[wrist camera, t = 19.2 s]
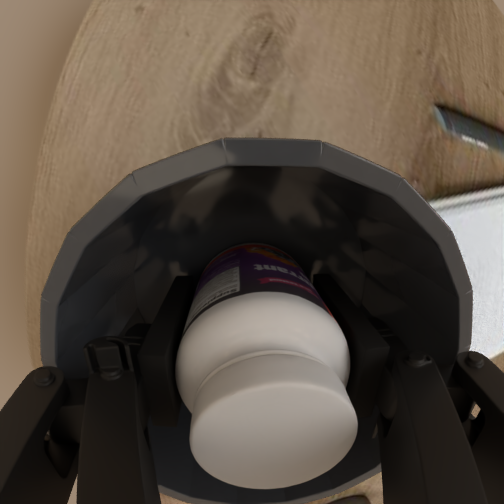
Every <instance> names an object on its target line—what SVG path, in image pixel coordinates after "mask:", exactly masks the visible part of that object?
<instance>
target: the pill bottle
mask: <svg viewBox="0 0 504 504" xmlns="http://www.w3.org/2000/svg"><path fill="white" fill-rule="evenodd" d="M349 375H350V352H349V348H348V344H347V341H346V339H345V337H344V334H343V332H342V330H341V328H340V327H339V325H338V323H337V321H336V320H335V319H334V317H333V316H332V314H331V312H330V311H329V309H328V308H327V306H326V305H325V303H324V301H323V300H322V298H321V297H320V295H319V294H318V292H317V291H316V289H315V288H314V286H313V285H312V283H311V282H310V280H309V279H308V277H307V276H306V274H305V273H304V271H303V270H302V268H301V267H300V266H299V264H298V263H297V262H296V261H295V260H294V259H293V258H292V257H291V256H290V255H288V254H287V253H285V252H284V251H282V250H280V249H278V248H276V247H274V246H271V245H268V244H263V243H244V244H239V245H235V246H233V247H230V248H228V249H226V250H224V251H223V252H221V253H219V254H218V255H217V256H216V257H214V258H213V259H212V260H211V261H210V263H209V264H208V265H207V266H206V268H205V270H204V271H203V273H202V275H201V277H200V279H199V282H198V285H197V288H196V291H195V294H194V297H193V301H192V304H191V307H190V311H189V314H188V317H187V320H186V324H185V327H184V331H183V334H182V337H181V341H180V344H179V347H178V351H177V357H176V363H175V378H176V384H177V388H178V391H179V394H180V396H181V398H182V400H183V402H184V404H185V405H186V407H187V408H188V409H189V411H190V412H191V413H192V419H191V426H190V436H189V442H190V448H191V452H192V454H193V456H194V458H195V460H196V461H197V462H198V464H199V465H200V466H201V467H202V468H203V469H204V470H205V471H206V472H208V473H209V474H210V475H212V476H213V477H215V478H217V479H219V480H221V481H223V482H226V483H229V484H232V485H235V486H240V487H245V488H253V489H275V488H283V487H289V486H292V485H297V484H300V483H303V482H306V481H309V480H311V479H313V478H316V477H318V476H320V475H321V474H323V473H325V472H327V471H328V470H330V469H331V468H333V467H334V466H335V465H336V464H338V463H339V462H340V461H341V460H342V459H343V458H344V457H345V455H346V454H347V453H348V451H349V450H350V448H351V447H352V445H353V443H354V441H355V438H356V435H357V428H358V422H357V416H356V413H355V410H354V408H353V406H352V403H351V401H350V399H349V397H348V394H347V392H346V386H347V383H348V379H349Z"/></svg>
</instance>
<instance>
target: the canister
mask: <svg viewBox="0 0 504 504" xmlns="http://www.w3.org/2000/svg"><path fill="white" fill-rule="evenodd" d="M244 243H263V244H268V245H271V246H274V247H276V248H278V249H280V250H282V251H284V252H285V253H287V254H288V255H290V256H291V257H292V258H293V259H294V260H295V261H296V262H297V263H298V264H299V266H300V267H301V268H302V270H303V271H304V273H305V274H306V276H307V277H308V279H309V280H310V282H311V283H312V285H313V274H330V275H331V277H332V278H333V279H334V280H335V281H336V282H337V284H338V285H339V286H340V287H341V288H342V289H343V291H344V292H345V293H346V294H347V295H348V296H349V298H350V299H351V300H352V301H353V302H354V304H355V305H356V306H357V307H358V308H359V310H360V311H361V312H362V313H363V314H364V316H365V317H366V318H368V317H376V318H378V319H380V320H382V321H383V322H385V323H386V324H387V325H388V326H389V327H390V329H391V330H392V331H393V332H394V333H395V334H396V336H398V337H399V339H400V340H401V341H402V342H403V343H404V344H405V345H406V346H407V348H408V349H409V350H418V351H421V352H424V353H427V354H428V355H430V356H431V357H432V358H433V359H434V361H435V363H436V364H438V365H454V363H455V360H456V357H457V355H458V354H459V353H461V352H464V351H469V349H470V345H471V336H472V310H473V290H472V285H471V282H470V279H469V276H468V273H467V270H466V267H465V264H464V261H463V258H462V255H461V253H460V250H459V247H458V245H457V242H456V239H455V237H454V234H453V232H452V231H451V229H450V227H449V226H448V225H447V224H446V223H445V222H444V220H443V219H442V218H441V217H440V216H439V215H438V214H437V212H436V211H435V210H434V209H433V208H432V207H431V206H430V205H429V204H428V202H427V201H426V200H425V199H424V198H423V197H422V196H421V195H420V194H419V193H418V192H417V191H416V190H415V189H414V188H413V187H412V186H411V185H410V183H409V182H408V181H407V180H406V179H405V178H403V177H401V176H400V175H399V174H397V173H395V172H393V171H391V170H389V169H387V168H385V167H382V166H380V165H378V164H376V163H374V162H372V161H369V160H367V159H365V158H363V157H361V156H358V155H356V154H354V153H351V152H349V151H347V150H344V149H342V148H340V147H337V146H335V145H332V144H330V143H327V142H322V141H321V140H308V139H286V138H224V140H223V139H218V140H215V141H212V142H209V143H206V144H203V145H200V146H197V147H194V148H191V149H189V150H186V151H183V152H180V153H178V154H175V155H172V156H170V157H167V158H165V159H162V160H159V161H157V162H154V163H152V164H149V165H147V166H144V167H142V168H139V169H137V170H135V171H133V172H132V173H131V174H128V175H127V176H126V177H125V178H124V179H123V180H122V181H120V182H119V183H118V184H117V185H116V186H115V187H114V188H113V189H111V190H110V191H109V192H108V193H107V194H106V195H105V196H104V197H103V198H102V199H101V200H100V201H98V202H97V203H96V204H95V205H94V206H93V207H92V208H91V209H90V210H89V211H88V212H87V213H86V214H85V215H84V216H83V217H82V218H81V219H80V220H79V221H78V222H77V223H76V224H75V225H74V226H73V227H72V228H71V230H70V231H69V232H68V233H67V235H66V238H65V240H64V242H63V244H62V246H61V248H60V251H59V253H58V255H57V257H56V260H55V262H54V264H53V267H52V269H51V272H50V274H49V276H48V279H47V281H46V284H45V286H44V289H43V292H42V294H41V296H42V297H41V306H40V350H41V361H42V364H43V367H44V366H54V367H57V368H60V369H61V370H62V371H63V372H64V375H65V378H66V380H70V379H82V378H88V377H89V371H88V367H87V364H86V360H85V356H84V353H83V347H84V346H85V344H87V343H88V342H89V341H91V340H93V339H96V338H98V337H103V336H117V337H121V338H124V335H125V334H126V332H127V330H128V329H129V328H131V327H132V326H134V325H135V324H136V323H150V324H152V323H153V321H154V319H155V317H156V315H157V313H158V311H159V309H160V307H161V305H162V303H163V301H164V299H165V297H166V295H167V293H168V291H169V289H170V287H171V285H172V283H173V281H174V279H175V277H176V276H193V288H194V294H195V291H196V288H197V285H198V282H199V279H200V277H201V275H202V273H203V271H204V270H205V268H206V266H207V265H208V264H209V263H210V261H211V260H212V259H213V258H214V257H216V256H217V255H218V254H219V253H221V252H223V251H224V250H226V249H228V248H230V247H233V246H235V245H239V244H244ZM379 412H380V410H379V408H378V406H377V404H376V402H375V406H374V409H373V412H372V415H371V416H367V417H361V418H357V422H358V428H357V435H356V438H355V441H354V443H353V445H352V447H351V448H350V450H349V451H348V453H347V454H346V455H345V457H344V458H343V459H342V460H341V461H340V462H339V463H338V464H336V465H335V466H334V467H333V468H331V469H330V470H328V471H327V472H325V473H323V474H321V475H320V476H318V477H316V478H313V479H311V480H309V481H306V482H303V483H300V484H297V485H292V486H289V487H283V488H275V489H253V488H245V487H240V486H235V485H232V484H229V483H226V482H223V481H221V480H219V479H217V478H215V477H213V476H212V475H210V474H209V473H208V472H206V471H205V470H204V469H203V468H202V467H201V466H200V465H199V464H198V462H197V461H196V460H195V458H194V456H193V454H192V452H191V448H190V442H189V436H190V426H191V419H192V413H191V412H190V411H189V409H188V408H187V407H186V405H185V404H184V402H183V400H182V402H181V408H180V413H179V418H178V424H177V427H164V426H153V423H152V419H151V415H150V416H149V420H148V423H147V425H148V429H149V432H150V438H151V446H152V453H153V460H154V466H155V472H156V478H157V484H158V489H159V493H162V494H164V495H167V496H170V497H172V498H175V499H178V500H180V501H183V502H186V503H191V504H304V503H308V502H312V501H315V500H319V499H322V498H326V497H329V496H332V495H335V494H339V493H341V492H343V491H345V490H347V489H349V488H351V487H353V486H355V485H357V484H359V483H361V482H363V481H365V480H367V479H369V478H371V477H372V476H374V475H376V474H378V473H380V472H381V471H382V470H381V458H380V447H379V437H378V432H377V433H376V436H375V438H372V433H373V430H374V427H375V424H376V422H377V419H378V415H379Z"/></svg>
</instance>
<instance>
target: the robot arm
mask: <svg viewBox="0 0 504 504" xmlns="http://www.w3.org/2000/svg"><path fill="white" fill-rule="evenodd" d="M313 286H314V288H315V289H316V291H317V292H318V294H319V295H320V297H321V298H322V300H323V301H324V303H325V305H326V306H327V308H328V309H329V311H330V312H331V314H332V316H333V317H334V319H335V320H336V321H337V323H338V325H339V327H340V328H341V330H342V332H343V334H344V337H345V339H346V341H347V344H348V348H349V352H350V375H349V379H348V383H347V386H346V392H347V394H348V397H349V399H350V401H351V403H352V406H353V408H354V410H355V413H356V416H357V418H361V417H367V416H371V415H372V412H373V409H374V406H375V402H376V404H377V406H378V408H379V410H380V412H379V415H378V419H377V422H376V424H375V427H374V430H373V433H372V438H375V436H376V433H377V432H378V437H379V447H380V458H381V470H382V484H383V503H384V504H504V373H503V372H502V371H501V370H500V369H499V368H498V367H497V366H496V365H495V364H494V363H493V362H492V361H490V360H489V359H488V358H487V357H486V356H484V355H483V354H480V353H478V352H475V351H474V352H473V351H464V352H461V353H459V354H458V355H457V357H456V360H455V363H454V365H438V364H436V363H435V361H434V359H433V358H432V357H431V356H430V355H428V354H427V353H424V352H421V351H418V350H409V349H408V348H407V346H406V345H405V344H404V343H403V342H402V341H401V340H400V339H399V337H398V336H396V334H395V333H394V332H393V331H392V330H391V329H390V327H389V326H388V325H387V324H386V323H385V322H383V321H382V320H380V319H378V318H376V317H368V318H366V317H365V316H364V314H363V313H362V312H361V311H360V310H359V308H358V307H357V306H356V305H355V304H354V302H353V301H352V300H351V299H350V298H349V296H348V295H347V294H346V293H345V292H344V291H343V289H342V288H341V287H340V286H339V285H338V284H337V282H336V281H335V280H334V279H333V278H332V277H331V275H330V274H313ZM193 297H194V288H193V276H176V277H175V279H174V281H173V283H172V285H171V287H170V289H169V291H168V293H167V295H166V297H165V299H164V301H163V303H162V305H161V307H160V309H159V311H158V313H157V315H156V317H155V319H154V321H153V323H152V324H150V323H136V324H135V325H134V326H132V327H131V328H129V329H128V330H127V332H126V334H125V335H124V338H121V337H117V336H103V337H98V338H96V339H93V340H91V341H89V342H88V343H87V344H85V346H84V347H83V353H84V356H85V360H86V364H87V367H88V371H89V377H88V378H82V379H70V380H66V378H65V375H64V372H63V371H62V370H61V369H60V368H57V367H54V366H44V367H39V368H37V369H35V370H33V371H32V372H31V373H29V374H28V375H27V376H26V378H25V379H24V380H23V381H22V383H21V384H20V385H19V387H18V388H17V389H16V391H15V392H14V393H13V395H12V396H11V397H10V399H9V400H8V401H7V403H6V404H5V405H4V407H3V408H2V409H1V411H0V504H67V503H68V500H69V497H70V494H71V491H72V488H73V485H74V482H75V479H76V477H77V474H78V477H77V504H161V500H160V495H159V489H158V484H157V478H156V472H155V466H154V460H153V453H152V446H151V438H150V432H149V429H148V425H147V423H148V420H149V416H150V415H151V419H152V423H153V426H164V427H177V424H178V418H179V413H180V408H181V402H182V398H181V396H180V394H179V391H178V388H177V384H176V378H175V363H176V357H177V351H178V347H179V344H180V341H181V337H182V334H183V331H184V327H185V324H186V320H187V317H188V314H189V311H190V307H191V304H192V301H193ZM475 404H477V405H478V406H479V407H480V411H479V413H478V415H477V417H476V418H475V417H474V416H473V415H472V414H471V412H472V410H473V408H474V406H475Z"/></svg>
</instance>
